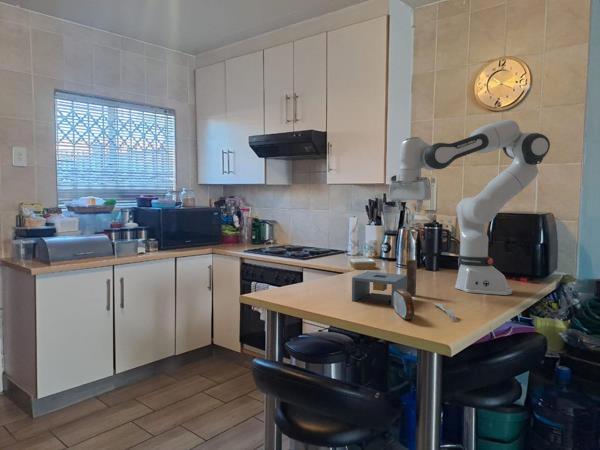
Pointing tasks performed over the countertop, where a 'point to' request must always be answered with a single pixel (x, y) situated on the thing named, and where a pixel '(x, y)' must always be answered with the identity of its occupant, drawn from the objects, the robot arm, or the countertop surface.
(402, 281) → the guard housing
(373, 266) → the soap dish
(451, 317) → the fork
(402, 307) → the tin
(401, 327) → the countertop surface
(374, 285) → the button
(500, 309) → the countertop surface
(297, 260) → the countertop surface
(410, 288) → the brown wooden bar
